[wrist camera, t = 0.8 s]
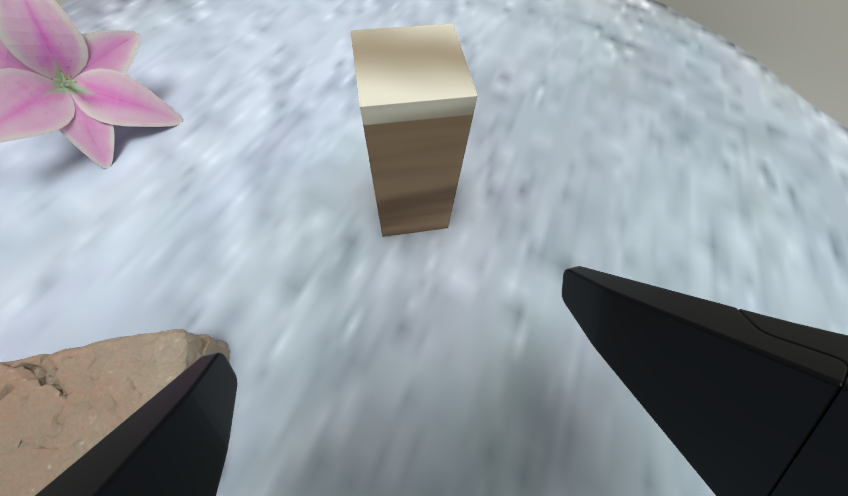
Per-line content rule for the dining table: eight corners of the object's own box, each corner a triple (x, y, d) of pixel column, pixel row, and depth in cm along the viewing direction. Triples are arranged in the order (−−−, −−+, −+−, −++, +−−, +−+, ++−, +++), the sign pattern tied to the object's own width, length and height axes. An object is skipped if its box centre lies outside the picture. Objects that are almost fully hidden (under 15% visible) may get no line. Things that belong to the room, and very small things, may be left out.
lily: (25, 200, 26) (-75, 145, 17) (-36, 60, 25) (-166, -62, 17) (199, 169, 32) (186, 118, 24) (152, 56, 32) (122, -34, 23)
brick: (231, 334, 21) (186, 319, 17) (226, 487, 18) (167, 515, 14) (-59, 390, 19) (-192, 388, 15) (-126, 572, 16) (-323, 636, 12)
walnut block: (447, 227, 25) (477, 96, 14) (382, 236, 24) (360, 106, 13) (435, 175, 27) (453, 23, 16) (375, 182, 26) (350, 30, 15)
